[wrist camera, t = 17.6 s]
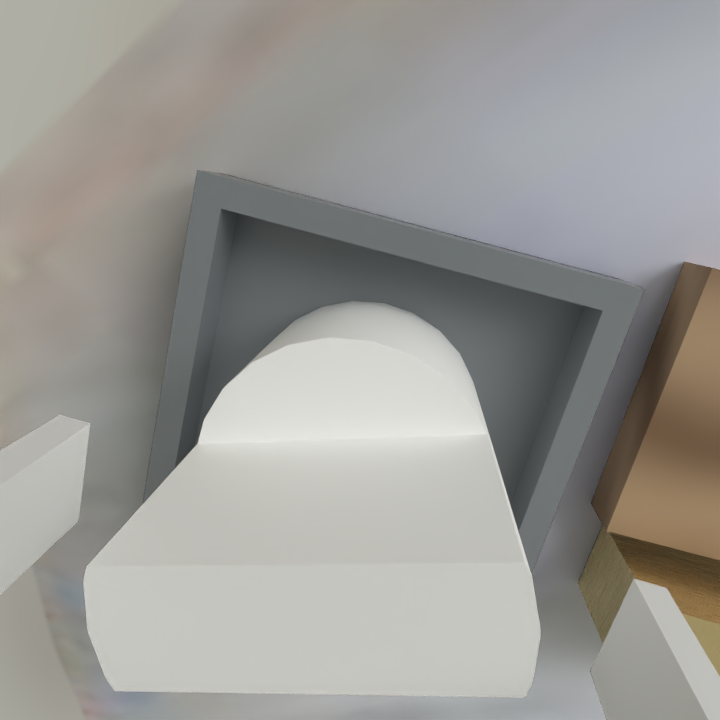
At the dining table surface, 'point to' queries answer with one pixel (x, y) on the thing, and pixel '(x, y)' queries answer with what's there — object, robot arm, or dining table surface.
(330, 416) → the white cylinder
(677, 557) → the block
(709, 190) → the dining table surface
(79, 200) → the dining table surface
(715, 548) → the tan rounded-edge slab
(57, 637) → the dining table surface
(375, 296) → the tray
